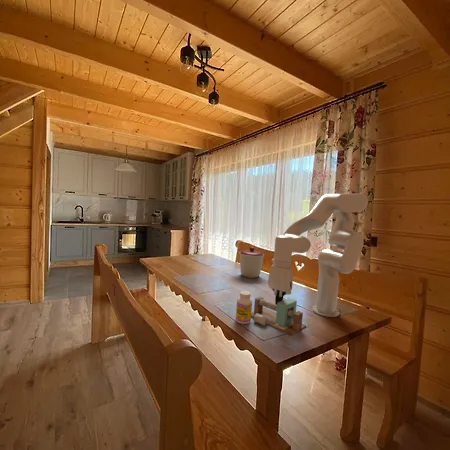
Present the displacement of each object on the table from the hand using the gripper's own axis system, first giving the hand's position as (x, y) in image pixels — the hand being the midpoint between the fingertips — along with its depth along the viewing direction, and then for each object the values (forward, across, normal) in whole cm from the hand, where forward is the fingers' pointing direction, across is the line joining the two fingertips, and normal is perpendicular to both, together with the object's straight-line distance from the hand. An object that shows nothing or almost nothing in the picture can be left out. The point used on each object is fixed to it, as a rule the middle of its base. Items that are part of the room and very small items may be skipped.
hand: (278, 304), depth 115 cm
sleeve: (+7, -4, -9) cm, 12 cm away
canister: (+8, -54, +46) cm, 71 cm away
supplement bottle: (+8, -10, -12) cm, 18 cm away
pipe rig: (+8, -1, 0) cm, 8 cm away
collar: (+7, +4, 0) cm, 8 cm away
